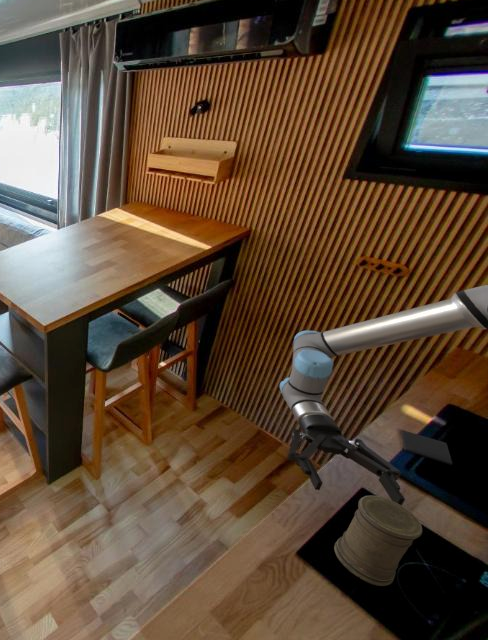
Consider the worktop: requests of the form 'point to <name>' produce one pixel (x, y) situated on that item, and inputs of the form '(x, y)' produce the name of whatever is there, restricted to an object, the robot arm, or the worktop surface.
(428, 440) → the base pad
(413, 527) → the container
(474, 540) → the worktop surface
